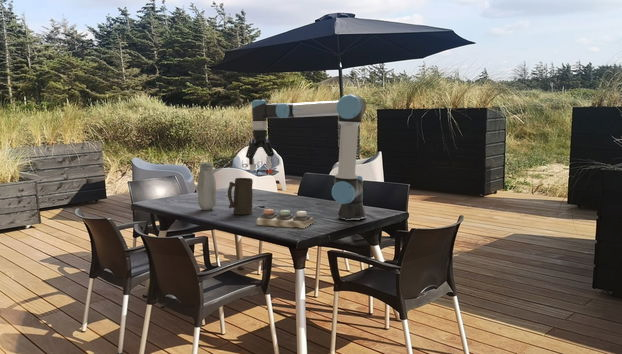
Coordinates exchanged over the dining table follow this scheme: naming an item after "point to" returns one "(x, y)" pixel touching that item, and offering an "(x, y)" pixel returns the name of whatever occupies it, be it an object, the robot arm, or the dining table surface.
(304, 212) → the cream button
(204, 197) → the glass bottle
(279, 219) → the button panel
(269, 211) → the terracotta button
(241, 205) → the beer stein
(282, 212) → the sage button
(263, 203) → the dining table surface
